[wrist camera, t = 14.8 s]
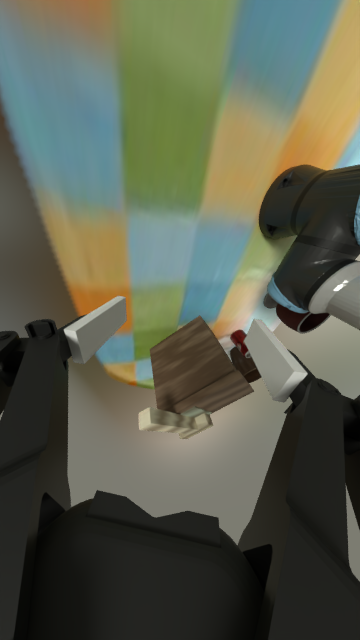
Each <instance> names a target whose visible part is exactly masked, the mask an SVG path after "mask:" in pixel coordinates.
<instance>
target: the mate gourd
mask: <svg viewBox="0 0 360 640" xmlns="http://www.w3.org/2000/svg"><path fill="white" fill-rule="evenodd" d="M264 305H265V307H267V308H275V307H276V313H277V316H278V317H279V319H280V320H281V321H282V322H283V323H284V324H286V325H287V326H288V327H290V328H292V329H293V330H295V331H297V332H299V333H307V332H310V331H312V330H314V329H316V328H317V327H319V326H320V325H321V324H322V323H324V322H325V321H326V320H327V319H328V318H329V317H330V316H331V314H329V313H318V314H313V313H311V312H307V313H297V312H294V311H292V310H289V309H288V308H287V307H284V306H282V305H280V304H279V303H277V302H276V301H275V300H274V299H273V298H272V297H271V296H270V295H269V293H267V295H266V296H265V299H264Z"/></svg>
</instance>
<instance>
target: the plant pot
mask: <svg viewBox="0 0 360 640" xmlns="http://www.w3.org/2000/svg"><path fill="white" fill-rule="evenodd" d="M230 355H231V359H232V363H233V365H234V367H235V368H236V370H239V371H240V373H241V374H242V375H243V377H244V378H245V379H246V381H247V382H248V383H251V382H254V381H256V380H258V379H259V378H261V375H260V373H259V371H258V369H257V366H256V364H255V362H254V360H253V358H252V357H250V358H246V357H244V356H243V355H242V354H241V352H240V351H239V350H238V348H237V347H235V348H233V349H232V350H231V351H230Z"/></svg>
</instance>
